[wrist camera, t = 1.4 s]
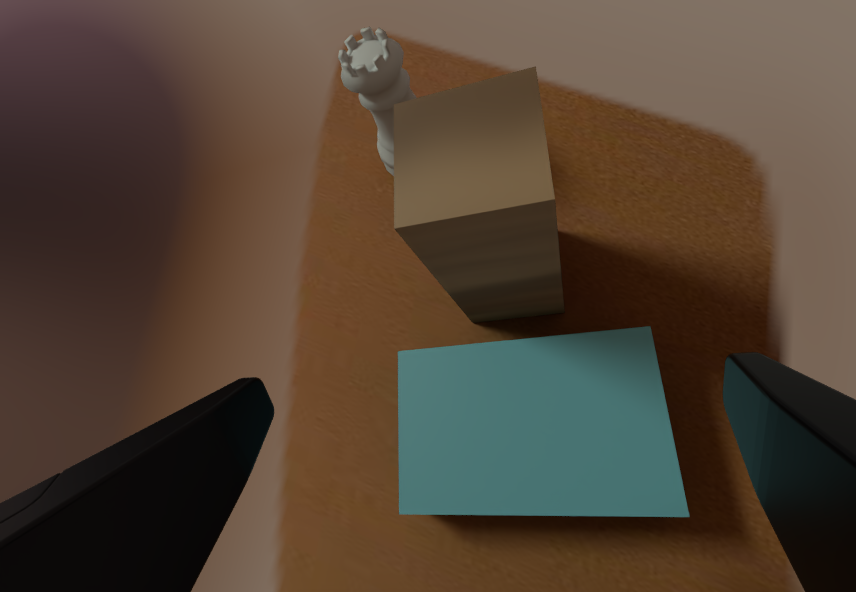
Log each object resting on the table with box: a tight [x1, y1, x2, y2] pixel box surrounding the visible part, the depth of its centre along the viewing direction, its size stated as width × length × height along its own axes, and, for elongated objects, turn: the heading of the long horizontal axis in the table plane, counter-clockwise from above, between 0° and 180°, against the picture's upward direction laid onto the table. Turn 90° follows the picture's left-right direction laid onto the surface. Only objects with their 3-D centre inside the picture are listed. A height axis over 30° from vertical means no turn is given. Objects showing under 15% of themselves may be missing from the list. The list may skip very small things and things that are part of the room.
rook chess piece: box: [338, 27, 416, 176], centre depth 24 cm, size 4×4×8 cm
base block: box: [398, 326, 689, 517], centre depth 19 cm, size 7×11×2 cm, turn 92°
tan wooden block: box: [394, 67, 565, 323], centre depth 18 cm, size 5×5×11 cm
